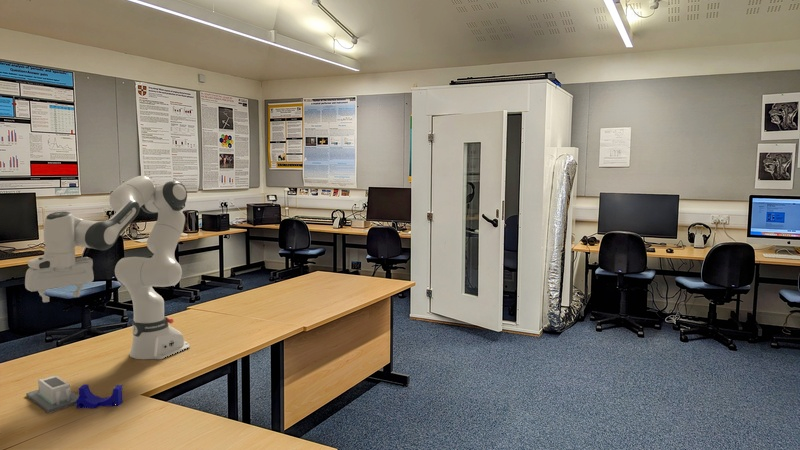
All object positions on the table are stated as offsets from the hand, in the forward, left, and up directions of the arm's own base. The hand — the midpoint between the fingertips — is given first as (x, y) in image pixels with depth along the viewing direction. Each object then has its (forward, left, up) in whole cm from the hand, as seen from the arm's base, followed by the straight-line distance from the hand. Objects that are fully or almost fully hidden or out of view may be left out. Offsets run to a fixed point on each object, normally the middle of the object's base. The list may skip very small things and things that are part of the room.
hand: (61, 299), depth 181 cm
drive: (+8, +13, -28) cm, 32 cm away
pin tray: (+8, +13, -29) cm, 33 cm away
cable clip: (0, +27, -30) cm, 40 cm away
